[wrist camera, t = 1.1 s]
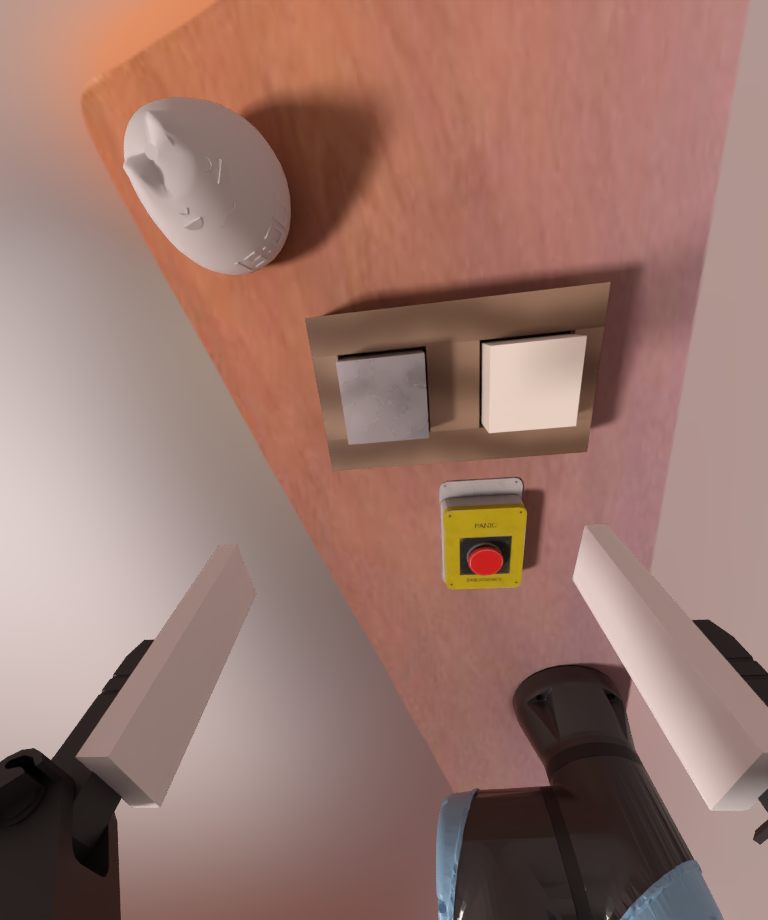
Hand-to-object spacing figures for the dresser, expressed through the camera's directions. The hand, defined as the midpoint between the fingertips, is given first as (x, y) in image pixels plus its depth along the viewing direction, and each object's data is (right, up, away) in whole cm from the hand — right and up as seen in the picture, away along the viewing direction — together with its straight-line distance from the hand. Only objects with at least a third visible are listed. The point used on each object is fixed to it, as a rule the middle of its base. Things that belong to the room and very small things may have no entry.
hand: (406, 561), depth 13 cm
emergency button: (+11, -5, +28) cm, 30 cm away
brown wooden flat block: (+5, +12, +20) cm, 24 cm away
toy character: (-13, +25, +16) cm, 33 cm away
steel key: (-1, +10, +18) cm, 20 cm away
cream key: (+11, +11, +16) cm, 23 cm away
